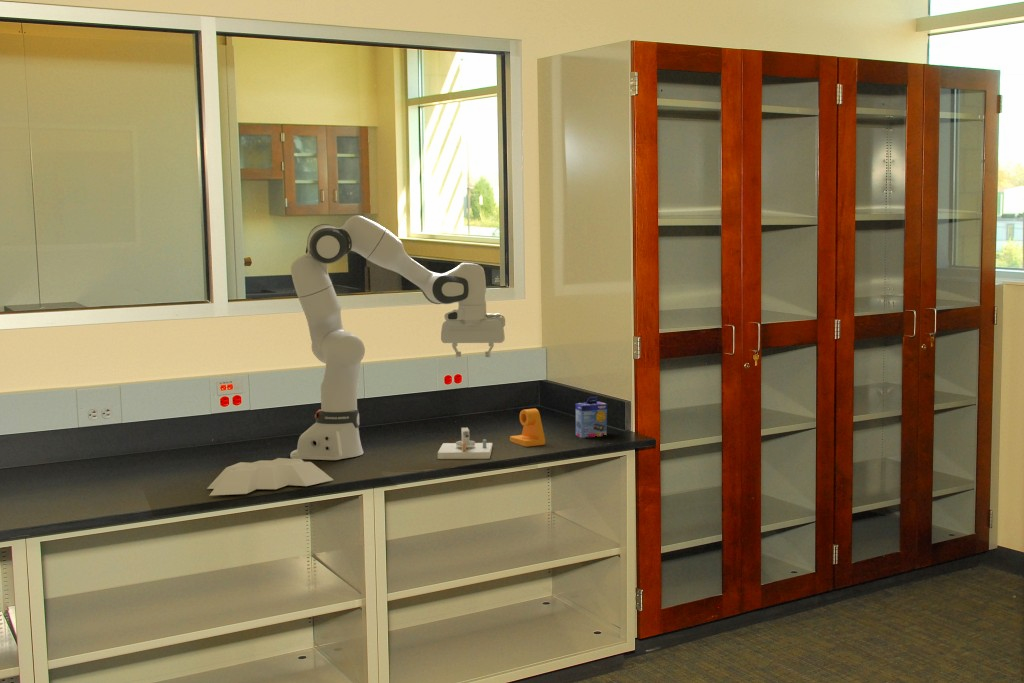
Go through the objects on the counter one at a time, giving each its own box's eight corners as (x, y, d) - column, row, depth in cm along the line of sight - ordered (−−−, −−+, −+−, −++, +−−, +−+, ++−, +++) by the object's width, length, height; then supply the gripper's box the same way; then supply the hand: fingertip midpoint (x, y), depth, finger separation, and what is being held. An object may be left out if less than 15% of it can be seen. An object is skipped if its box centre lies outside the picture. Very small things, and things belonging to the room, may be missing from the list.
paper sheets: (314, 469, 306) (314, 451, 305) (338, 482, 289) (337, 462, 288) (195, 484, 288) (194, 464, 288) (212, 498, 271) (211, 477, 271)
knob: (455, 445, 327) (455, 427, 327) (474, 444, 328) (473, 427, 327) (457, 450, 317) (457, 433, 317) (476, 450, 318) (476, 432, 317)
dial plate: (437, 459, 316) (437, 444, 316) (443, 449, 332) (442, 435, 332) (489, 458, 316) (489, 444, 315) (492, 449, 332) (492, 435, 331)
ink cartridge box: (582, 441, 344) (581, 398, 342) (574, 438, 349) (574, 396, 347) (608, 438, 348) (607, 396, 346) (600, 436, 353) (599, 394, 351)
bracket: (508, 444, 340) (508, 408, 339) (527, 442, 344) (526, 406, 343) (526, 449, 331) (525, 412, 330) (545, 446, 335) (544, 410, 334)
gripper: (506, 313, 328) (506, 356, 329) (442, 313, 330) (443, 356, 331) (504, 314, 322) (504, 358, 323) (439, 314, 324) (440, 358, 325)
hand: (473, 357), depth 327 cm, fingers open, 8 cm apart
